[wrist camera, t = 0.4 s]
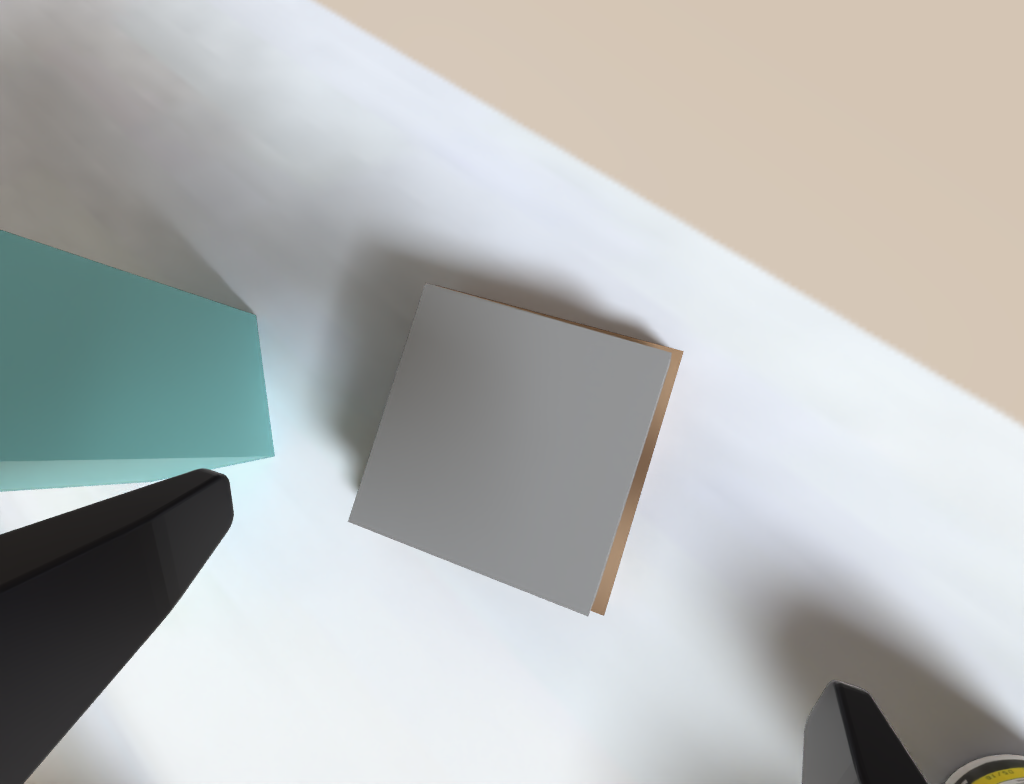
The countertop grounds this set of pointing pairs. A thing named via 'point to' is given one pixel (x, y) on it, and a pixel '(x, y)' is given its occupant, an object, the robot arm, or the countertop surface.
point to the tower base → (642, 467)
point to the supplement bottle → (991, 771)
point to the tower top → (511, 444)
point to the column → (119, 375)
